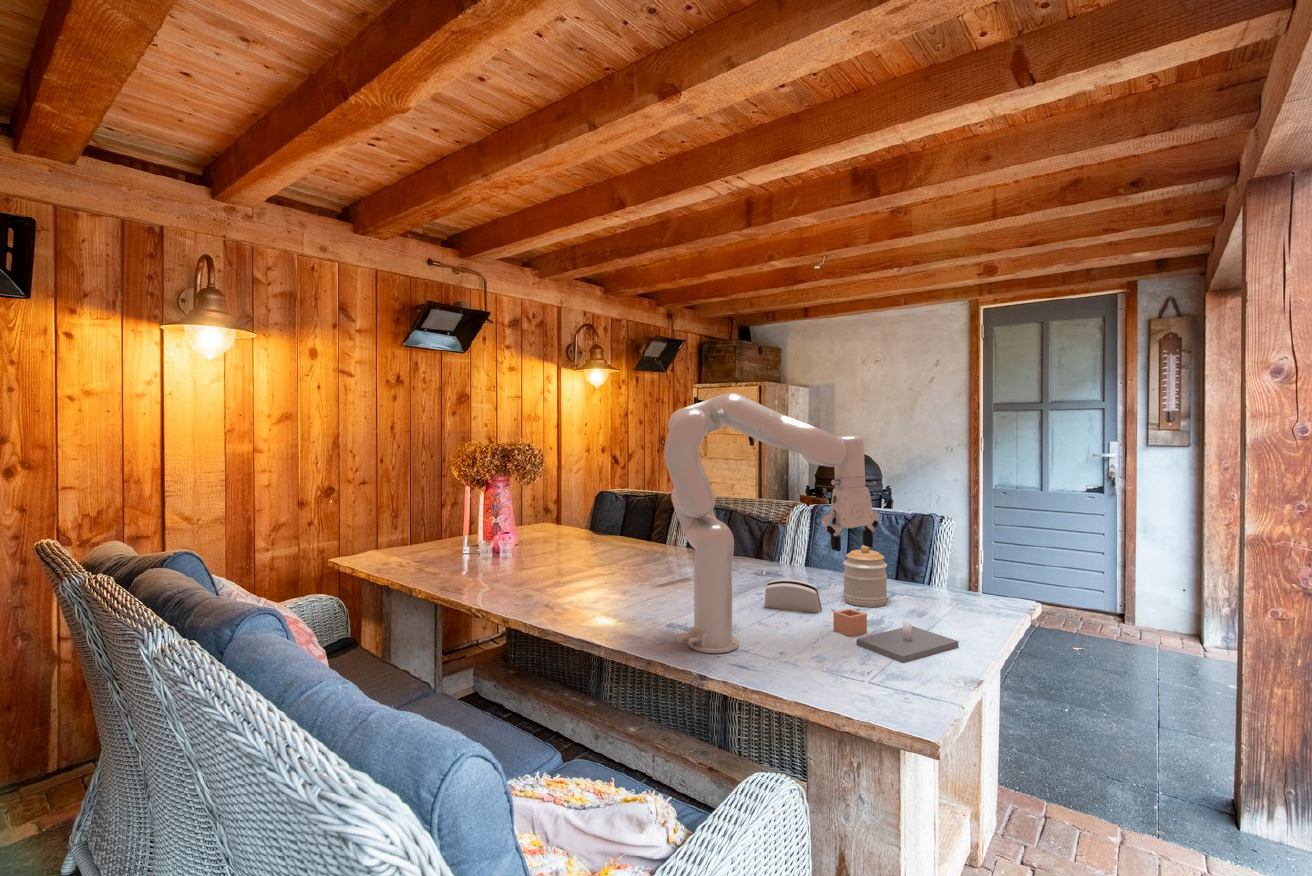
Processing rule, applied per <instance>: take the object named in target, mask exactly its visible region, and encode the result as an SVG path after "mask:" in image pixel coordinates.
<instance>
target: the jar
mask: <svg viewBox="0 0 1312 876" xmlns="http://www.w3.org/2000/svg"><path fill="white" fill-rule="evenodd" d="M845 557H846V559H845V560H844V561H843V562H842V564H843V565H844V571H843V573H842V575H843V600H844V602H845V603H847V604H849V605H852V606H857V607H865V608H867V607H868V608H874V607H875V608H876V607H882V606H884V605H886V604H887V601H888V593H887V591H888V590H887V589H888V588H887V587H888V585H887V584H888V579H887V578H888V574H887V571H886V569H887V567H888V563H886V562H885V561H884V559H885V556H884V555H883V554H881V553H880V552H878V551H876V550H872V549H870V547H867V546H864V545H863V544H862V545H861V546H860V549H853V550H851V551H850V552H848V553H846V554H845Z"/></svg>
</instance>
